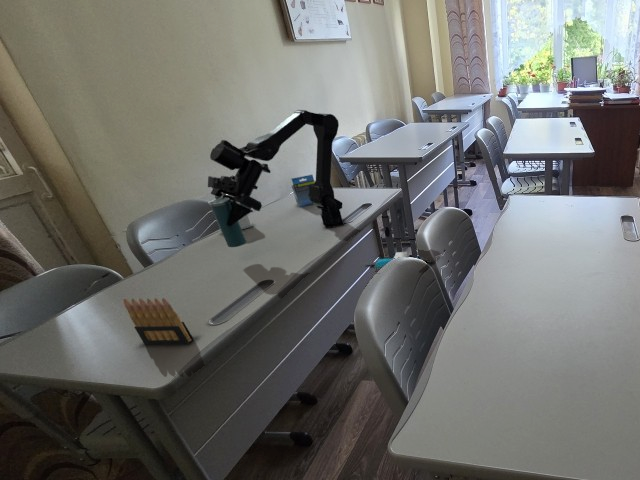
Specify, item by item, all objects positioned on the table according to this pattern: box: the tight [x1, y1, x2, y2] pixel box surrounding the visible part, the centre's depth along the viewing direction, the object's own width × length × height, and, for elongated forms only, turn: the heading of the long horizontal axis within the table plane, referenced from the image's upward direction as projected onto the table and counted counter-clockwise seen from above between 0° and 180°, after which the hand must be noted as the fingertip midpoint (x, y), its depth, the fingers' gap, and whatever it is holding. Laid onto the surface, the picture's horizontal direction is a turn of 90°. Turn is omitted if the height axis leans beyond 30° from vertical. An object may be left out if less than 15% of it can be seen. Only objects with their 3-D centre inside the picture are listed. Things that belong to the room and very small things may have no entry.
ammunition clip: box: [123, 297, 194, 346], centre depth 89 cm, size 11×2×12 cm, turn 88°
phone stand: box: [363, 251, 432, 274], centre depth 121 cm, size 20×12×2 cm, turn 91°
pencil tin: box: [208, 198, 248, 248], centre depth 121 cm, size 6×6×14 cm
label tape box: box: [290, 174, 316, 208], centre depth 171 cm, size 9×4×12 cm, turn 130°
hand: (223, 224), depth 120 cm, fingers closed on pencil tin, 5 cm apart
